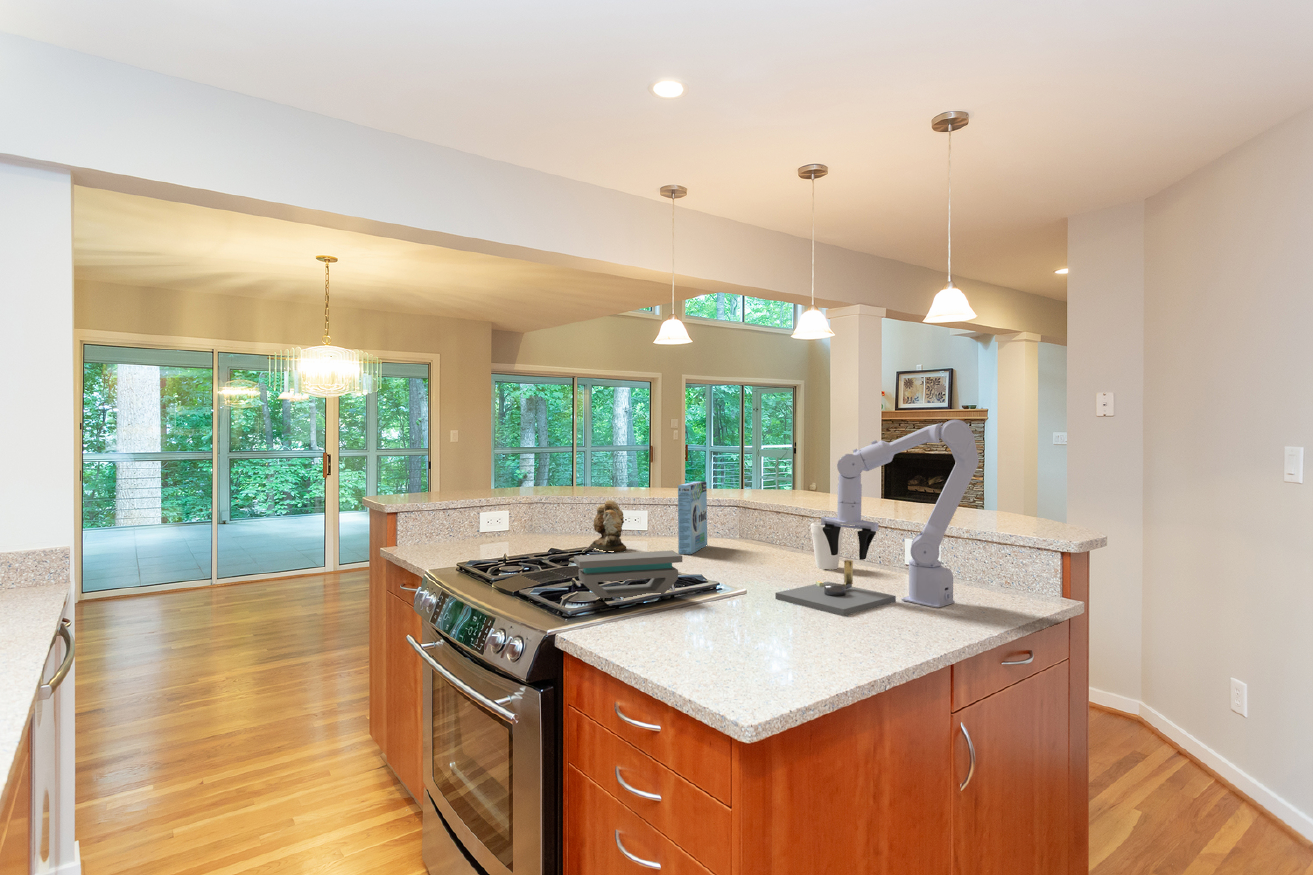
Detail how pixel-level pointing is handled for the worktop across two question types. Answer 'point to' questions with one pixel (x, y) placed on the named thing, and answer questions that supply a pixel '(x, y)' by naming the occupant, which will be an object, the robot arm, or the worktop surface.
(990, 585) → the worktop surface
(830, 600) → the dial plate
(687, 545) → the gum box
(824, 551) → the foam cup
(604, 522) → the brown stone sculpture
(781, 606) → the worktop surface
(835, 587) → the crank
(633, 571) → the sharpening stone
